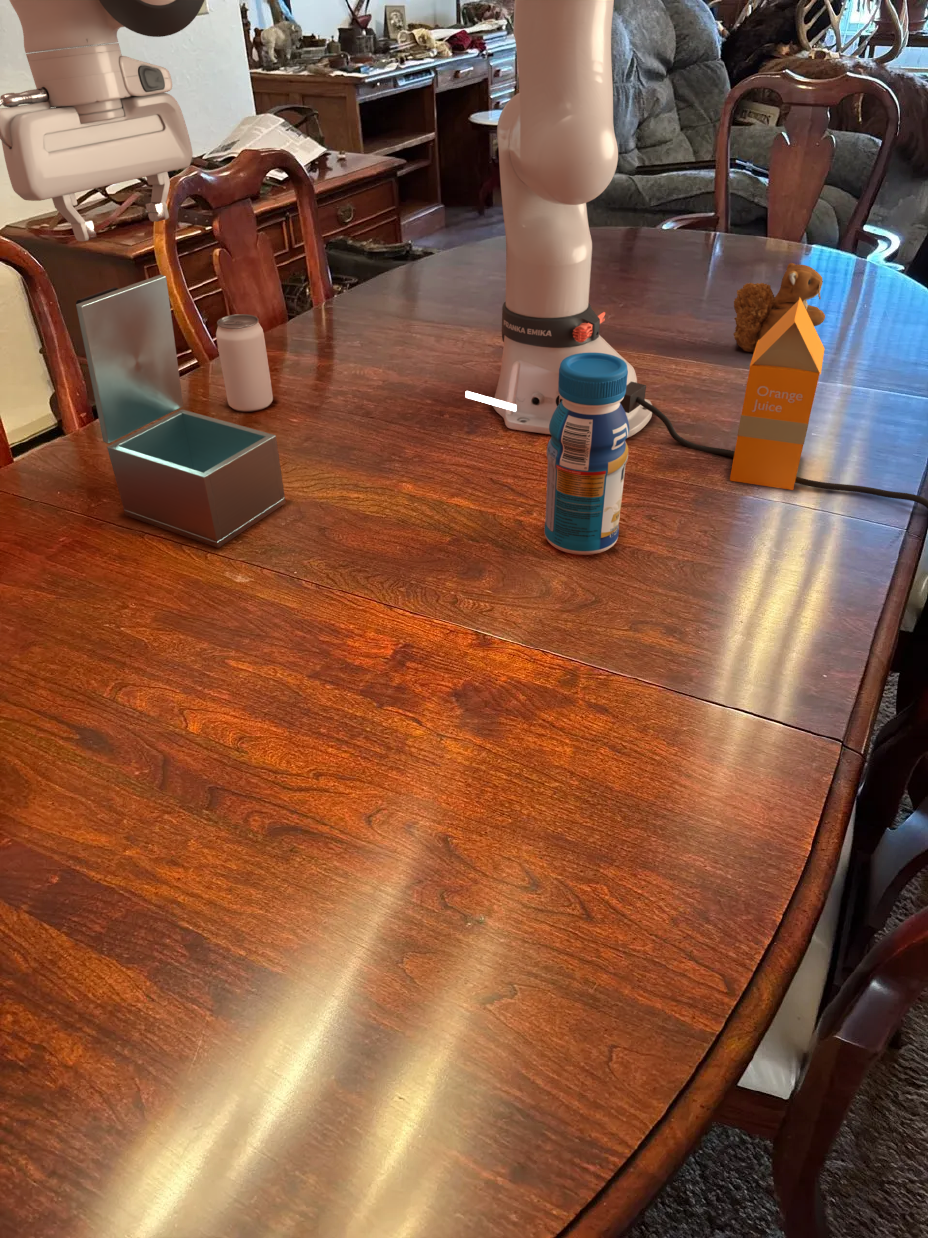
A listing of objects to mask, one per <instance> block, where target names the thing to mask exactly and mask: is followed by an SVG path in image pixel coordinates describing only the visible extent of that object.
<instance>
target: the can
mask: <svg viewBox="0 0 928 1238" xmlns="http://www.w3.org/2000/svg"><path fill="white" fill-rule="evenodd" d="M259 320H260V319H259V317H258V316H256V315H253V314H247V313H239V314H230V315H226V316H223V317H221V318H219V319H218V320H217V321H216V325H217V329H216V332H215V338H216V344H217V351H218V356H219V361H220V367H221V368H220V369H221V373H222V378H223V383H224V391H225V394H226V395H225V396H226V400H227V405H228V406H229V407H230V408H231V409H232V410H234V411H237V412H244V413H250V412H251V413H252V412H257V411H261V410H264V409H266V408H268V407H270V406H271V404H272V402H273V400H274V396H273V388H272V387H273V386H272V380H271V373H270V366H269V360H268V352H267V345H266V340H265V333H264V329H263V327H262V326H261V324H260V323H259V322H260V321H259Z"/></svg>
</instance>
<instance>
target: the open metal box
mask: <svg viewBox="0 0 928 1238" xmlns="http://www.w3.org/2000/svg"><path fill="white" fill-rule="evenodd" d="M278 447H279V446H278V441H277V435H276V434H273V433H269V432H267V431H266V432H265V431H263V430H262V431H261V430H258V429H254V428H251V427H247V426H243V425H240V424H236V423H233V422H230V421H226V420H222V419H219V418H216V417H211V416H208V415H204V414H200V413H196V412H193V411H191V410H186V409H180V410H178V411H175V412H174V413H172V414H169V415H168V416H166V417H164V418H162V419H159V420H157V421H155V422H154V423H152V424H150V425H148V426H145V427H143V428H142V429H140V430H138V431H136V432H133V433H132V434H130V435H127V436H125V437H124V438H122V439H119V440H118V441H116V442H113V443H112V444H110V445H107V446H106V449H107V452H108V455H109V459H110V464H111V467H112V472H113V475H114V479H115V482H116V486H117V489H118V493H119V498H120V500H121V505H122V508H123V512H124V515H125V516H127V517H128V518H132V519H135V520H137V521H141V522H143V523H146V524H149V525H150V526H154V527H157V528H160V529H163V530H166V531H168V532H172V533H174V534H176V535H180V536H182V537H185V538H188V539H191V540H194V541H196V542H200V543H202V544H205V545H208V546H211V547H213V548H216V549H219V548H221V547H222V546H224V545H225V544H227V543H228V542H230V541H231V540H233V539H234V538H236V537H238V536H239V535H241V534H242V533H244V532H245V531H246V530H248V529H249V528H251V527H253V526H254V525H255V524H257V523H258V522H260V521H262V520H263V519H264V518H266V517H268V516H269V515H270V514H272V513H273V512H275V511H276V510H278V509H279V508H281V507H282V506H284V505H285V504H287V501H286V495H285V488H284V482H283V474H282V468H281V462H280V454H279V448H278Z"/></svg>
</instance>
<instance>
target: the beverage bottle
mask: <svg viewBox="0 0 928 1238" xmlns="http://www.w3.org/2000/svg"><path fill="white" fill-rule="evenodd" d="M627 376H628V370H627V364H626V363H625V361H623V360H622V359H620V358H618V357H616V356H613V355H609V354H604V353H579V354H574V355H571V356H568V357H566V358H565V359H563V360H562V362H561V364H560V368H559V381H558V391H559V395H560V397H561V399H562V401H561V402H560V404H559V405H558V406H557V408H556V410H555V411H554V413H553V415H552V418H551V420H550V424H549V431H550V434H549V435H550V436H551V437H550V438H549V441H548V443H547V446H546V459H547V467H546V469H547V470H546V472H547V473H546V493H545V494H546V497H545V498H546V499H545V516H544V517H545V519H544V536H545V539H546V541H547V542H548V543H549V544H550V545H551V546H552V547H554V548H555V549H556V550H559V551H561V552H564V553H567V554H571V555H578V556H591V555H596V554H600V553H603V552H606V551H608V550H610V549H611V548H612V547H614V546H615V544H616V543H617V542H618V538H619V531H620V518H621V510H622V501H623V493H624V492H623V491H624V483H625V473H626V466H627V462H628V459H629V446H628V443H627V441H626V440H627V439H628V438H629V437H628V435H629V422H628V418H627V415H626V413H625V411H624V409H623V407H622V405H621V403H620V402H621V401H622V400H623V398H624V396H625V393H626V386H627ZM627 437H628V438H627Z"/></svg>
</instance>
